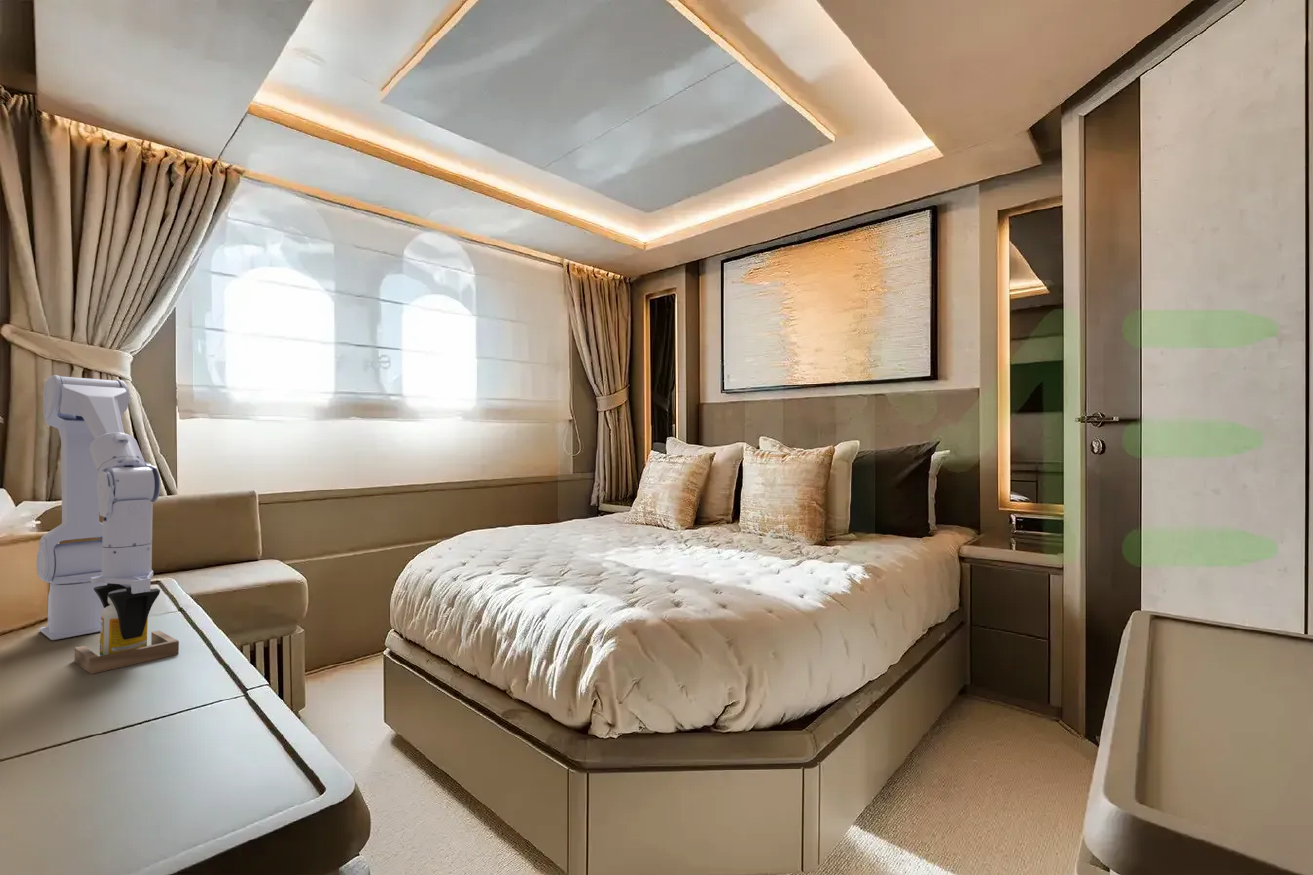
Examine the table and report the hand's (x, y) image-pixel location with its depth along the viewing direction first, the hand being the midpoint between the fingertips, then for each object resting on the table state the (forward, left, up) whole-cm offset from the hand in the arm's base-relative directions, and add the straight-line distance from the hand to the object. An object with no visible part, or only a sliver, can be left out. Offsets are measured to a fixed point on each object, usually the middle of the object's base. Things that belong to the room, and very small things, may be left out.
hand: (125, 633), depth 90 cm
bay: (+1, 0, -3) cm, 3 cm away
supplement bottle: (-1, 0, -3) cm, 3 cm away
